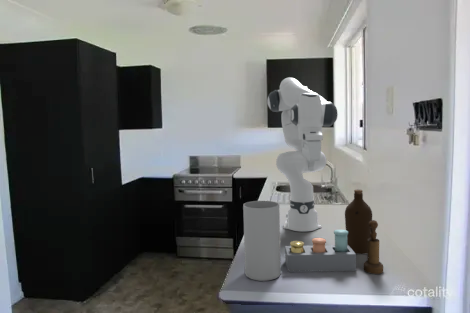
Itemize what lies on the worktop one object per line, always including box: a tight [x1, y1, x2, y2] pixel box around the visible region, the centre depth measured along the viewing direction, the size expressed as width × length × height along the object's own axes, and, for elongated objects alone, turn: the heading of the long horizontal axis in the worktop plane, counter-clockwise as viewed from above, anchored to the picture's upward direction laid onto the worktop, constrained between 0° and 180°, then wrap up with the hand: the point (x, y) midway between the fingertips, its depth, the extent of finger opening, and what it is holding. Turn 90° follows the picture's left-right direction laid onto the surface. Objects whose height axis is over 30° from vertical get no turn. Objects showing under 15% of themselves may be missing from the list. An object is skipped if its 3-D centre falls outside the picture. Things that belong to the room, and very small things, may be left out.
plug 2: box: [311, 237, 327, 253], centre depth 135 cm, size 5×5×8 cm
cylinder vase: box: [242, 200, 282, 282], centre depth 129 cm, size 12×12×25 cm
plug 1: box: [289, 240, 305, 253], centre depth 136 cm, size 5×5×8 cm
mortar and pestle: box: [362, 219, 384, 275], centre depth 129 cm, size 7×6×18 cm
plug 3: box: [333, 229, 348, 252], centre depth 135 cm, size 5×5×8 cm
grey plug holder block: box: [284, 244, 357, 272], centre depth 136 cm, size 10×24×6 cm, turn 88°
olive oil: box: [344, 189, 373, 255], centre depth 150 cm, size 11×11×25 cm
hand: (310, 170), depth 143 cm, fingers closed
